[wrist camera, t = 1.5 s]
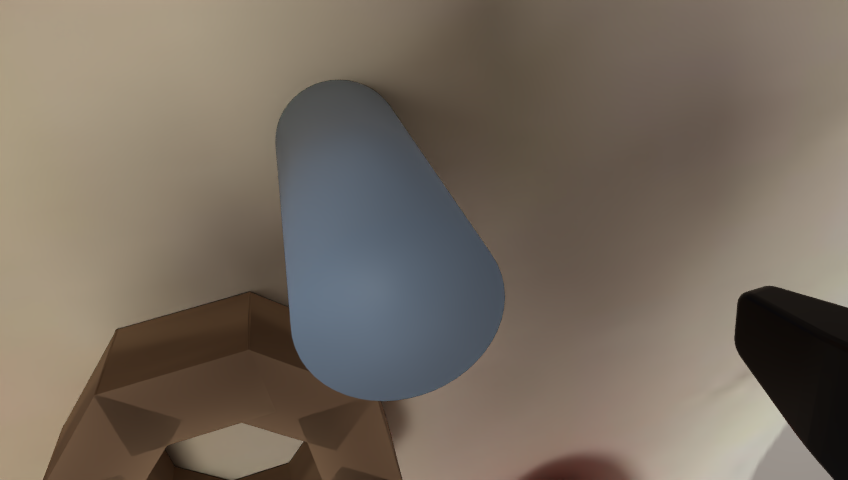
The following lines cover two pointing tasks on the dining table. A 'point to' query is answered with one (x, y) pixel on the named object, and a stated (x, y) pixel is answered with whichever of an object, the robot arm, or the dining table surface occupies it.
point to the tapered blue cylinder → (377, 251)
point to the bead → (216, 400)
